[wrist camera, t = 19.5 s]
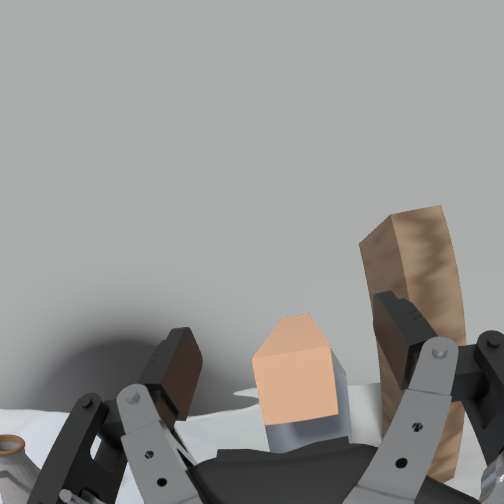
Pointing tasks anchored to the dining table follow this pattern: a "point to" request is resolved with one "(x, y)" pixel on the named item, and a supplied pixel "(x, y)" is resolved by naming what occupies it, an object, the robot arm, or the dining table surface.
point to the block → (295, 373)
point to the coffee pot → (15, 471)
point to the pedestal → (314, 421)
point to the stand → (419, 304)
